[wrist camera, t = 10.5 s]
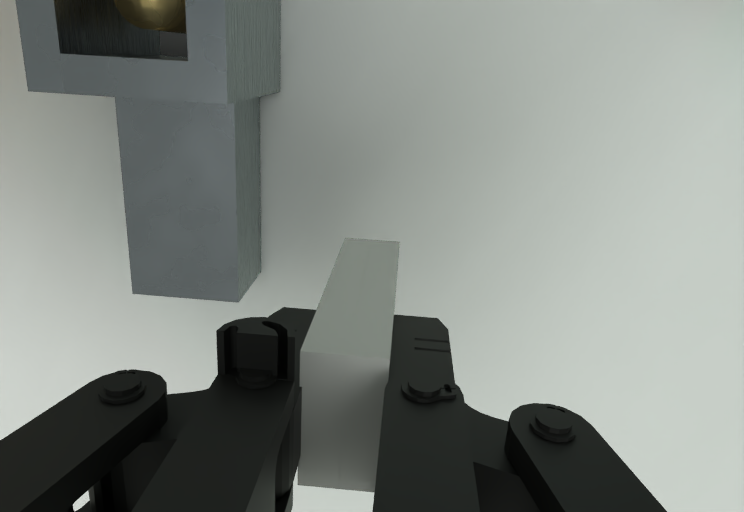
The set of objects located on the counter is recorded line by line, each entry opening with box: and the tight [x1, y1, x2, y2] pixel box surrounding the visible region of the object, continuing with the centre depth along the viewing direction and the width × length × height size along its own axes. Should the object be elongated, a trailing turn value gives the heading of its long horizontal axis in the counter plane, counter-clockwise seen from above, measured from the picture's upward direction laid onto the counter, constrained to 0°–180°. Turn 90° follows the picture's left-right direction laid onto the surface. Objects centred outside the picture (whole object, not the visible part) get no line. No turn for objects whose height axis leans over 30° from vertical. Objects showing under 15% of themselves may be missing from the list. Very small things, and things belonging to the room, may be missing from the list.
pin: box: [114, 0, 187, 34], centre depth 23 cm, size 2×2×6 cm
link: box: [16, 0, 281, 302], centre depth 24 cm, size 16×7×8 cm, turn 177°
